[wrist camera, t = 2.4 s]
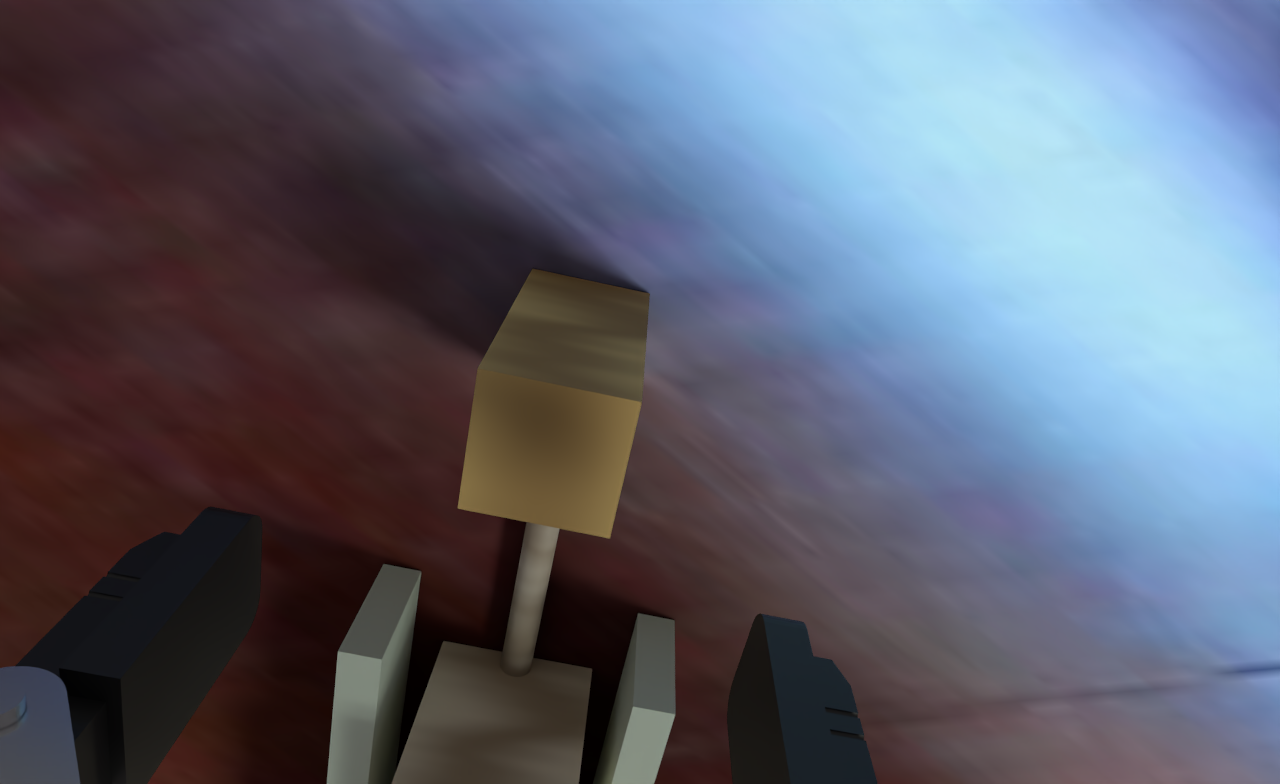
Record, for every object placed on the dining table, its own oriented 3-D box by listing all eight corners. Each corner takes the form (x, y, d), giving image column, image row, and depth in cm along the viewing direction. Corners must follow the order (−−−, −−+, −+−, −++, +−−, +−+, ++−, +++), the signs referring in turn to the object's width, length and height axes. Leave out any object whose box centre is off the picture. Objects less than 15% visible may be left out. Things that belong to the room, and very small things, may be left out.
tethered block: (682, 300, 23) (687, 411, 16) (566, 775, 30) (538, 980, 24) (499, 261, 22) (431, 358, 16) (427, 750, 30) (361, 950, 23)
